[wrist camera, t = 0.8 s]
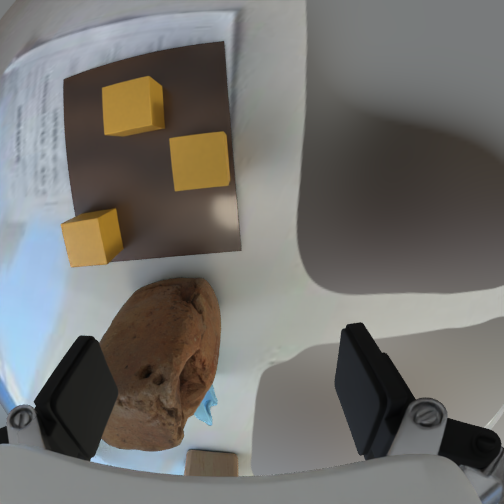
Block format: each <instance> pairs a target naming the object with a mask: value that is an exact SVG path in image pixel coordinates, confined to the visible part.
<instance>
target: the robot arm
mask: <svg viewBox="0 0 504 504" xmlns="http://www.w3.org/2000/svg"><path fill="white" fill-rule="evenodd" d="M335 389H336V392H337V395H338V397H339V400H340V403H341V406H342V408H343V411H344V414H345V417H346V419H347V422H348V425H349V428H350V431H351V434H352V437H353V439H354V442H355V445H356V448H357V451H358V454H359V455H364V458H365V460H366V461H361V462H355V463H350V464H345V465H340V466H335V467H329V468H323V469H317V470H310V471H302V472H294V473H286V474H275V475H262V476H242V477H204V476H183V475H171V474H160V473H152V472H144V471H137V470H130V469H124V468H119V467H113V466H108V465H103V464H99V463H94V462H90V460H91V457H94V456H95V454H96V451H97V448H98V446H99V443H100V440H101V438H102V435H103V432H104V430H105V427H106V425H107V422H108V420H109V417H110V415H111V412H112V410H113V407H114V405H115V402H116V400H117V397H118V388H117V386H116V383H115V381H114V379H113V377H112V374H111V372H110V369H109V367H108V365H107V362H106V360H105V357H104V355H103V352H102V350H101V347H100V344H99V342H98V341H97V340H95V338H94V337H93V336H79V337H78V338H77V339H76V341H75V342H74V343H73V345H72V346H71V348H70V349H69V350H68V352H67V353H66V354H65V356H64V357H63V359H62V360H61V362H60V363H59V364H58V366H57V367H56V369H55V370H54V372H53V373H52V375H51V376H50V378H49V379H48V381H47V382H46V383H45V385H44V387H43V388H42V390H41V391H40V393H39V394H38V396H37V397H36V399H35V400H34V403H35V405H36V407H35V409H34V408H33V407H32V406H30V405H19V406H17V407H15V408H14V409H12V410H11V411H10V413H9V414H8V417H7V422H6V423H7V426H5V427H3V428H0V504H504V448H503V447H502V446H501V440H500V438H499V436H498V435H497V434H496V433H495V432H494V431H492V430H490V429H486V428H482V427H479V426H475V425H471V424H467V423H463V422H460V421H456V420H453V419H450V418H447V410H446V408H445V407H444V405H443V404H442V403H441V402H439V401H438V400H435V399H433V398H419V399H417V400H416V399H415V397H414V396H413V394H412V393H411V391H410V389H409V388H408V386H407V384H406V383H405V381H404V380H403V378H402V377H401V375H400V373H399V372H398V370H397V369H396V367H395V366H394V364H393V362H392V361H391V359H390V358H389V356H388V355H387V354H386V353H382V352H381V351H380V349H379V347H378V346H377V344H376V343H375V341H374V340H373V338H372V337H371V335H370V333H369V332H368V330H367V329H366V327H365V326H364V324H363V323H361V322H360V323H353V324H347V326H346V328H345V329H342V331H341V338H340V347H339V355H338V361H337V368H336V375H335Z"/></svg>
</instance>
